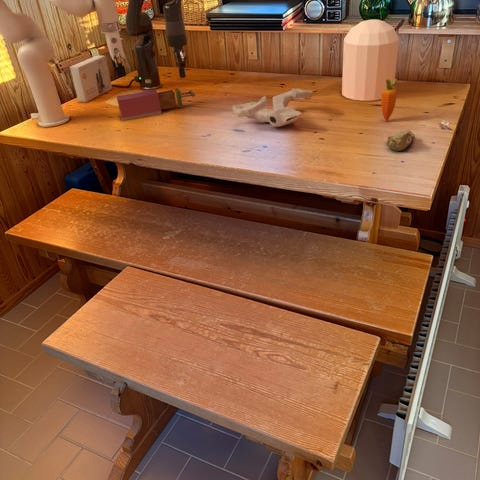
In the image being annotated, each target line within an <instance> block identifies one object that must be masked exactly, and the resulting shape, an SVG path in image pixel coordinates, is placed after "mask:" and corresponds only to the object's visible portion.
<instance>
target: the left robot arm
mask: <svg viewBox="0 0 480 480" xmlns="http://www.w3.org/2000/svg"><path fill="white" fill-rule="evenodd" d="M47 1H49V2H50V3H51V4H52V5H53V6H55V7H56V8H58V9H60V10H62V11H64V12H65V13H67V14H69V15H72V16H74V17H77V18H84V17H86V16H88V15H90V14H92V13H96V18H97V21H98V25H99V29H100V33H101V34H104V38H105V41H106V45H107V48H108V52H109V55H110V58H111V59H112V63H113V68H114V72H115V73H116V74H117V78H125V77H127V72H126V68H125V65H124V62H123V60H125V59H126V55H125V52H124V51H125V50H124V46H123V43H122V42H123V41H122V38H121V34H120V32H121V31H122V28H121V23H120V19H119V13H118V9H117V4H116V0H47ZM0 35H1V36H2V37H3V38H4V39H5V40H6V41H7V42H8V43H11V44H18V43H20V42H22V43H23V44H22V45H21V46H20V47H19V48H18V51H17V60H18V62H19V65H20V67H21V68H22V70H23V72H24V75H25V78H26V80H27V83H28V85H29V88H30V91H31V94H32V97H33V99H34V100H33V101H34V102H35V105H36V106H35V107H36V109H37V111H38V112H36V113H35V112H32V113H30V118H31V120H38V121H37V123H38V126H40V127H42V128H51V127H56V126H60V125H63V124H65V123H67V122H68V121H69V120H70V115H68V114H66V113H64V108H63V106H62V103H61V99H60V96H59V93H58V89H57V86H56V83H55V81H54V77H53V75H52V72H51V70H50V69H49V67H48V64H47V63H49V62H50V61H51V60H52V59H53V58H54V55H55V50H54V46H53V44H52V43H51V41H50V39H48V37H47V36H46V35H45V33H44V32H43V31H42V29H41V28H40V27H39V26H38V24H37V23H36V21H35V20H34V19H33V18H32V17H30V16H29V15H28V14H26V13H24V12H21V11H16V12H14V11H12V10H11V8H10V7H9V6H8V4H7V3H6V2H5V1H4V0H0Z"/></svg>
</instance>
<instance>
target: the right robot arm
mask: <svg viewBox="0 0 480 480" xmlns="http://www.w3.org/2000/svg"><path fill="white" fill-rule="evenodd" d="M145 2H146V0H128V2H127V8H126V13H125V20H124V21H125V29H126V32H127V33H128V35H129V36H131V37H138V39H137V41H136V42H135V43H134V45H133V50H134V54H135V59H136V64H137V67H136V71H137V72H136V73H137V74H136V75H134V78H133V79H131V80H130V81H129V83H128V84H127V85H119V84H111V85H112V87H116V88H122V89H127V88H130V87H131V85H132V84H133V82H135V83H137V84H139V87H140V89H142V90H143V91H149V90H157V89H159V88H161V87H162V84H161V78H160V73H159V72H160V71H159V67H158V66H159V65H158V62H157V61H158V60H157V55H156V50H155V34H154V27H153V21H152V18H151V16H150V14H149V13H148V12H146V11H142V9H143V6H144V3H145ZM182 2H183V0H172V1H170V2H167V3H165V4H164V5H163V7H162V10H163V16H164V22H165V33H166V39H167V46H168V47H169V48H173V50H172V54H173V57H174V61H175V65H176V66H177V69H178V75H179V78H180V79H185V78H186V70H185V68H186V67H187V56H186V51H185V50H184V48H183V47H184V46H187V45H188V39H187V32H186V25H185V21H184V15H183V7H182V4H183V3H182Z"/></svg>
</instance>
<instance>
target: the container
mask: <svg viewBox="0 0 480 480" xmlns="http://www.w3.org/2000/svg"><path fill="white" fill-rule="evenodd" d="M399 44H400V37H399V36H398V33H397V32H396V30H395V28H394V27H393V26H392V25H391V24H389V23H388V22H387V21H383V20H381V19H376V18H375V19H374V18H373V19H367V20H362V21H360V22H359V23H358V24H356V25H354V26H353V27H352V28H350V29H349V31H348V32H347V33H346V35H345V37H344V38H343V51H342V77H341V79H342V80H341V95H342V96H343V97H344V98H347V99H349V100H354V101H363V102H364V101H365V102H367V101H379V100H381V98H382V91H383V90H384V89H386V88H387V87H386V85H387V83H386V79H390V82H391V84H393V82H394V80H395V79H396V72H397V63H398V62H397V61H398V52H399ZM389 86H390V85H389ZM391 86H392V85H391ZM393 88H394V89H395V85H394V86H393Z"/></svg>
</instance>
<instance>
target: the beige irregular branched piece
mask: <svg viewBox="0 0 480 480" xmlns="http://www.w3.org/2000/svg"><path fill="white" fill-rule="evenodd" d="M313 93H314V92H313V91H312V90H307V89H302V88H292V89H291V90H289V91H286V92H283V93H281V94H277V95H275V96H272V102H271V103H272V107H273V109H272V110H271V109H266V108H265V107H267V106H268V98H267V96H266V95H264V96H262V97H261V98H260V99H259V100H258V101H257V102H256V101H251V102H246V103H240V104H234V105H232V106H231V107H232V108H231V109H232V112H233V113H234V115H235V116H237V118H244V117H246V118H248V119H252V120H257V122H259V123H269V124H270V126H272V127H274V128H280V127H284V126H287V125H290V124H294V123H296V121H298V120H301V119H302V112H301V111H300V110H297V109H295V108H294V107H291V106H288V105H289V103H290V102H292V101H299V100H308V101H310V100H311V99H312V97H313Z"/></svg>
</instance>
